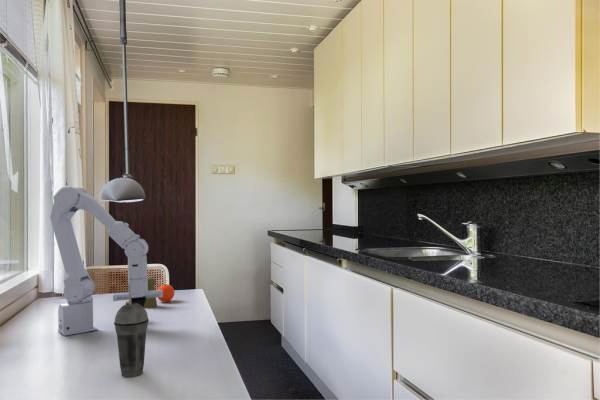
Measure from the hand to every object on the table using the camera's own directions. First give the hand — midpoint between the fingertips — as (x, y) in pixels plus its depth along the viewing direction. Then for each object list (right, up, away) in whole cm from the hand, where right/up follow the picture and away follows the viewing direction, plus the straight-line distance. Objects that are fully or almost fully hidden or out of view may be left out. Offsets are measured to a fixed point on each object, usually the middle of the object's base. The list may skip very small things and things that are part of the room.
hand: (139, 322), depth 146 cm
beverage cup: (+13, -1, -42) cm, 43 cm away
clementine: (-4, -3, +43) cm, 43 cm away
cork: (-8, -3, +33) cm, 34 cm away
